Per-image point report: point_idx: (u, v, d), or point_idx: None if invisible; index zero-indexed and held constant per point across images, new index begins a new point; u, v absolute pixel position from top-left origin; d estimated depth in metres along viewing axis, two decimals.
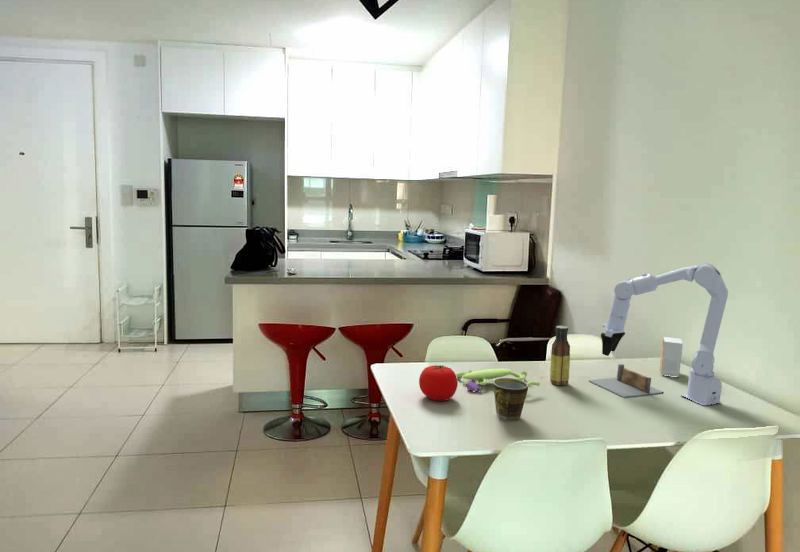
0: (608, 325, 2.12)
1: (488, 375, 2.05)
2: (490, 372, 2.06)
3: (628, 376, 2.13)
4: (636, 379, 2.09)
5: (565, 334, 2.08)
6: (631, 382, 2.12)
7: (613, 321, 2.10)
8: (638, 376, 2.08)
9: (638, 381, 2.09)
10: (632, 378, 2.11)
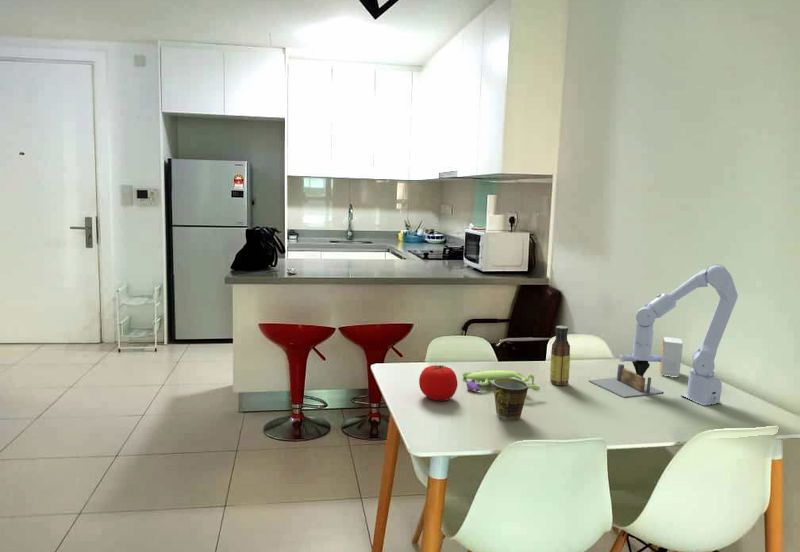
0: None
1: (490, 376, 2.04)
2: (493, 373, 2.05)
3: (627, 376, 2.13)
4: (633, 379, 2.09)
5: (565, 334, 2.08)
6: (629, 382, 2.11)
7: (633, 348, 2.08)
8: (635, 376, 2.08)
9: (635, 381, 2.08)
10: (630, 378, 2.11)
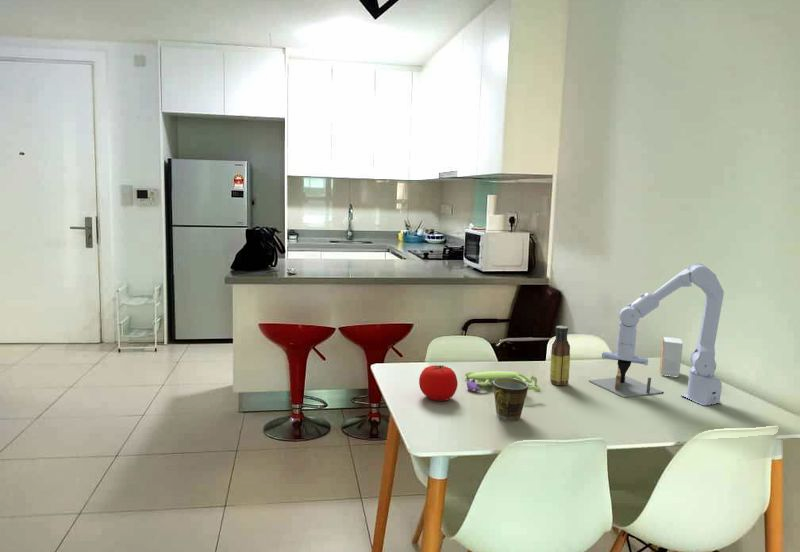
0: None
1: (491, 376, 2.03)
2: (494, 374, 2.04)
3: None
4: None
5: (565, 334, 2.08)
6: None
7: None
8: (616, 375, 2.09)
9: None
10: None
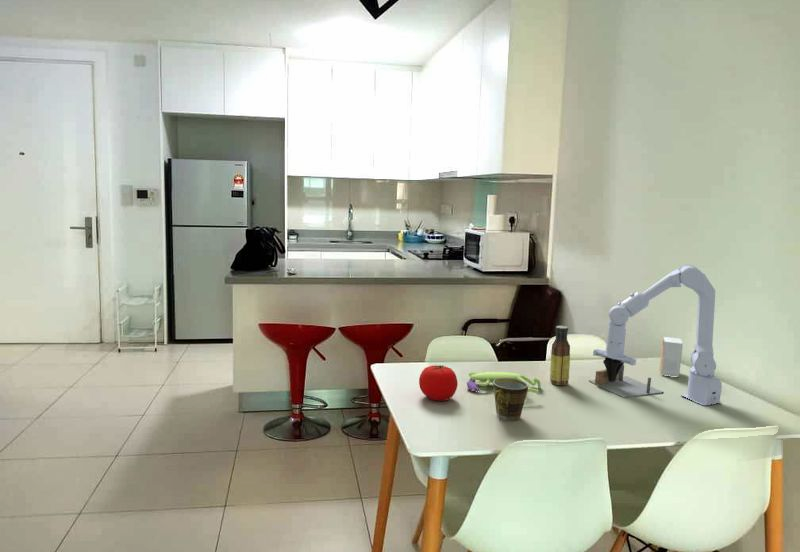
0: None
1: (492, 377, 2.03)
2: (495, 374, 2.03)
3: None
4: None
5: (565, 334, 2.08)
6: None
7: None
8: None
9: None
10: None
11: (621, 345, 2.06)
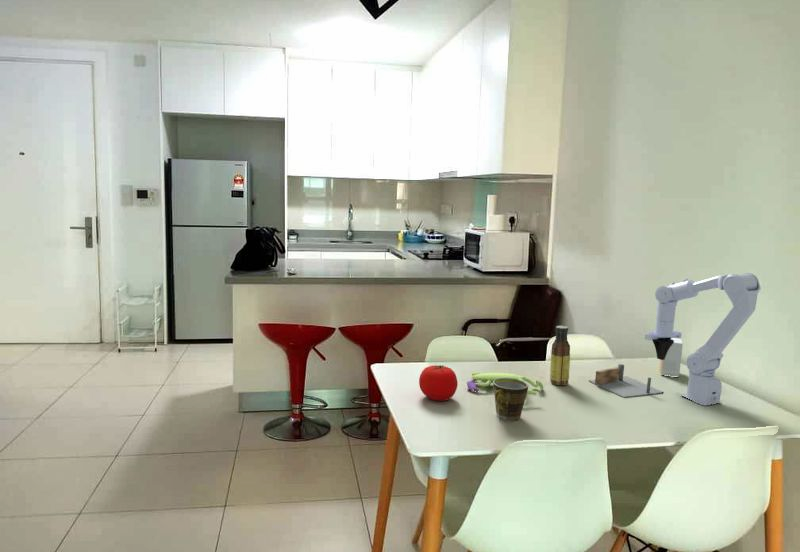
0: (655, 330, 2.13)
1: (493, 378, 2.02)
2: (496, 375, 2.02)
3: None
4: None
5: (565, 334, 2.08)
6: None
7: (657, 326, 2.11)
8: None
9: None
10: None
11: None
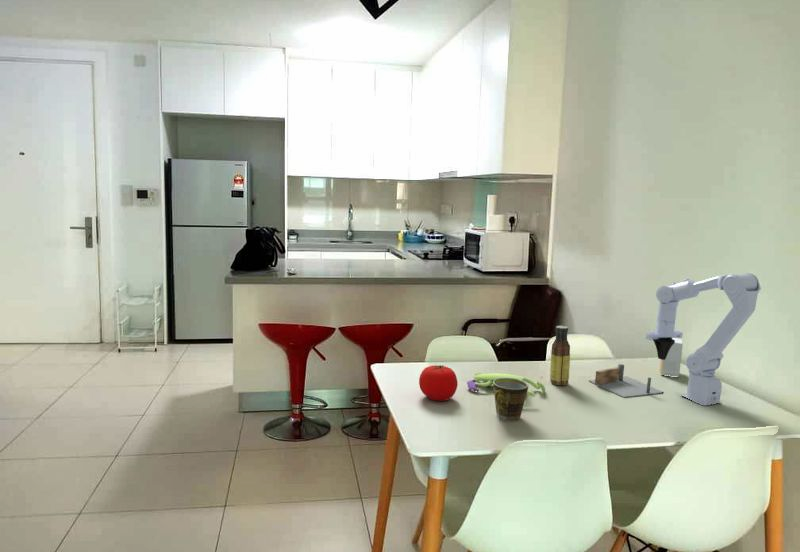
0: (656, 330, 2.13)
1: (494, 378, 2.02)
2: (497, 376, 2.02)
3: None
4: None
5: (565, 334, 2.08)
6: None
7: (658, 326, 2.11)
8: None
9: None
10: None
11: None
